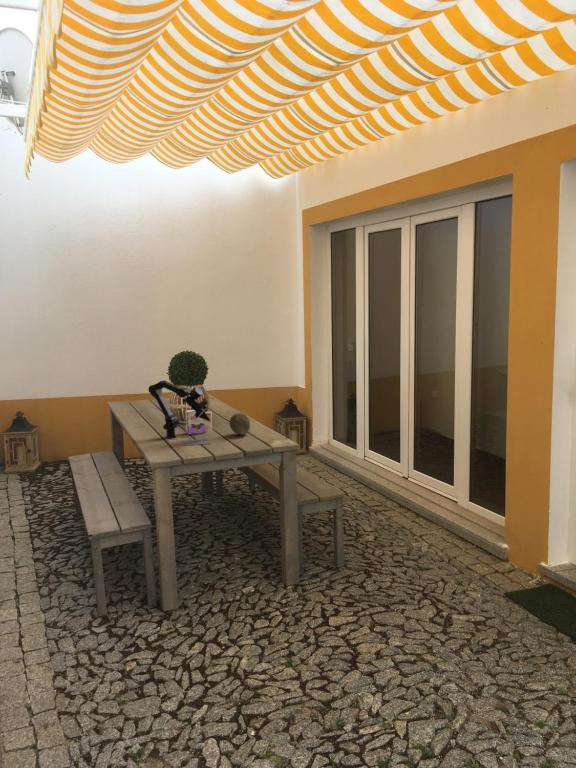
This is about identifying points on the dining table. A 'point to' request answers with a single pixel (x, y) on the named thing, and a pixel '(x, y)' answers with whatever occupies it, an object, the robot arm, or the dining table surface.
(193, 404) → the robot arm
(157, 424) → the dining table surface
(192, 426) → the candy box
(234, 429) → the cantaloupe
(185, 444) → the rubber mat
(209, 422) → the birch block
